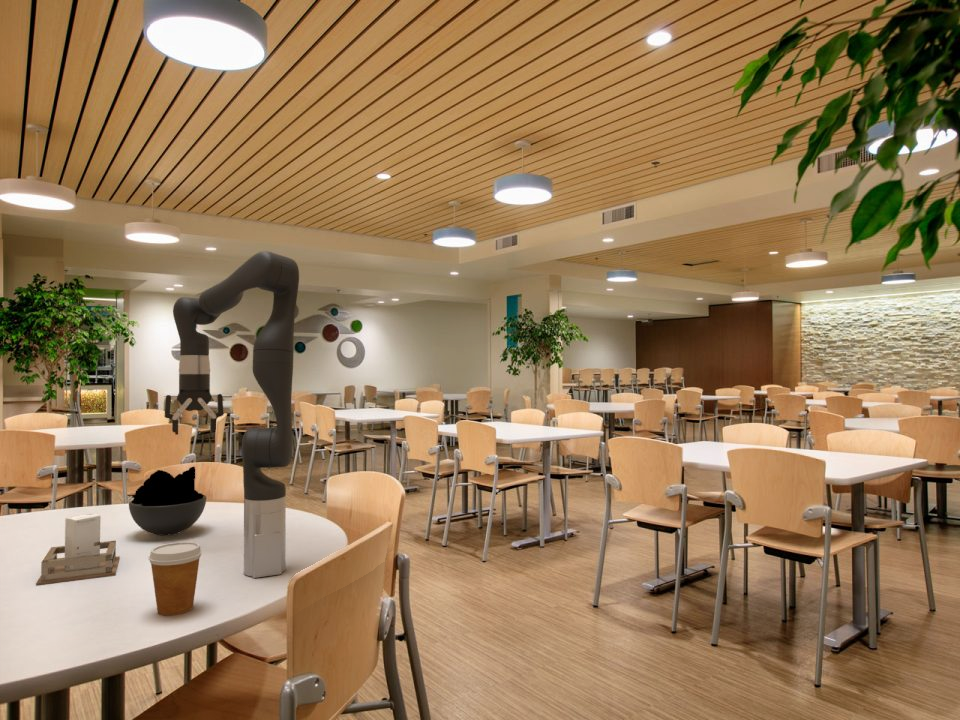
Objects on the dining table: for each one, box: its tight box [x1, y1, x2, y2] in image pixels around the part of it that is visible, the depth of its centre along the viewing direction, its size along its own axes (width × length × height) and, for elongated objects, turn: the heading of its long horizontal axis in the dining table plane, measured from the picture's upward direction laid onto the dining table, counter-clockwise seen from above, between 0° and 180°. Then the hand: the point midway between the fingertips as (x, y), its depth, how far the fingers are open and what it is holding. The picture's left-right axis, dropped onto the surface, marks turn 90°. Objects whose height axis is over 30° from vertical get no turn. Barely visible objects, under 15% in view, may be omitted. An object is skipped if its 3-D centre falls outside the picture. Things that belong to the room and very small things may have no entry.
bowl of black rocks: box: [128, 466, 207, 536], centre depth 182 cm, size 20×20×19 cm
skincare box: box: [64, 513, 101, 571], centre depth 148 cm, size 6×4×12 cm
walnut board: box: [35, 555, 121, 586], centre depth 148 cm, size 15×15×1 cm
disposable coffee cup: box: [147, 541, 203, 616], centre depth 124 cm, size 10×10×12 cm
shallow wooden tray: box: [40, 540, 117, 581], centre depth 148 cm, size 13×13×4 cm
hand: (194, 433), depth 168 cm, fingers open, 8 cm apart
